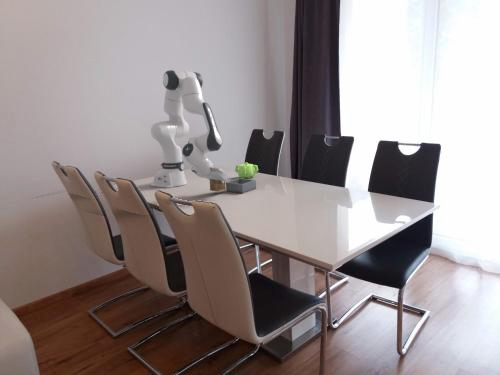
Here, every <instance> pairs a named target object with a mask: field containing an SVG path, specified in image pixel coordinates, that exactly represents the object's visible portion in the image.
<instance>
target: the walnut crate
mask: <svg viewBox="0 0 500 375" xmlns="http://www.w3.org/2000/svg"><path fill="white" fill-rule="evenodd" d="M224 190H225V191H226V181H225V182H224V183H221V182H220V180H215V179H210V180H209V191H213V192H221V191H224Z"/></svg>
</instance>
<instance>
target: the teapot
mask: <svg viewBox="0 0 500 375" xmlns="http://www.w3.org/2000/svg"><path fill="white" fill-rule="evenodd" d="M234 172H235V173H237V175H238V178H243V179H245V178H247V179H251V180H252V178H253V177H254V176H255V175H256V173H258V172H259V168H258V165H256V164H253V163H248V162H244V163H242V164H240V165H237V164H236V165H235V170H234Z"/></svg>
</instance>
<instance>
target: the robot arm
mask: <svg viewBox="0 0 500 375" xmlns="http://www.w3.org/2000/svg"><path fill="white" fill-rule="evenodd" d="M203 81H204V80H203V76H202V75H201V74H200V73H199V72H195V71H189V70H172V69H171V70H166V71H165V72H164V74H163V78H162V84H163V86H164V88H165V93H164V101H163V102H164V103H163V111H164V112H165V113H166V114H167V115H168V120H162V121H159V122H155V123H154V124H152V125H151V127H150V128H151V129H150V134H151V136H152V137H153V139H154V140H156V141H157V142H158V143H159V145H160V147H161V150H162V154H163V162H162V163H160V167H161V168H160V170H159V171H158V172H156V173H155V174H154V176H153V182H151V183H150V185H149V186H150V187H157V188H167V189H168V188H173V187H174V188H175V187H181V186H184V185H185V186H186V184H188V181H187V178H186V175H185V167H184V166H185V165H184V160H183V158H184V159H185V161H186V162H187V163H188V164H189V165H190V166H191V169H190V171H191V172H192V173H194V174H195V175H196V176H197V177H199V178H202V179H207V180H208V181H210V179H215V180H220V182H221V183H224V182H225V183H226V182H227V181H226V180H227V179H228V176H229V175H228V174H227V172H225V171H224V170H223V169H222V168H220V167H214V163H213V162H212V161H211V160H210V159H209V157H207V156H206V153H210V152H216V151H219V150H220V149H221V147H222V145H223V137H222V136H221V134H220V131H219V129H218V126H217V123H216V120H215V117H214V114H213V110H212V108H211V106H210V104H209V103H207V102H205V100H204V97H203V91H202V87H203V83H204V82H203ZM184 110H185V111H186V112H188V113H190V114H193V115H199V116H202V117H203V120H204V124H205V126H206V130H207V132H206V133H203V134H198V135H196V136H195V135H194V136H193V137H190V138H189V140H188V142H187V143H186V144H184V146H183V147H182V148H181V147H180V146H179V145H178V144H177V143H176V142H175V139H179V138H182V137H185V136H187V135H189V132H190V126H189V123H188V122H187V121H186V120H185V117H184Z"/></svg>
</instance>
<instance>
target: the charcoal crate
mask: <svg viewBox="0 0 500 375" xmlns="http://www.w3.org/2000/svg"><path fill="white" fill-rule="evenodd" d="M225 188H226V189H225V191H226V192H231V193H237V194H245V193H249V192H251V191H254V190H257V180H256V179H252V178H251V179H248V178H244V179H243V178H242V177H238V178H235V179H231V180H229V181H225Z"/></svg>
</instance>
